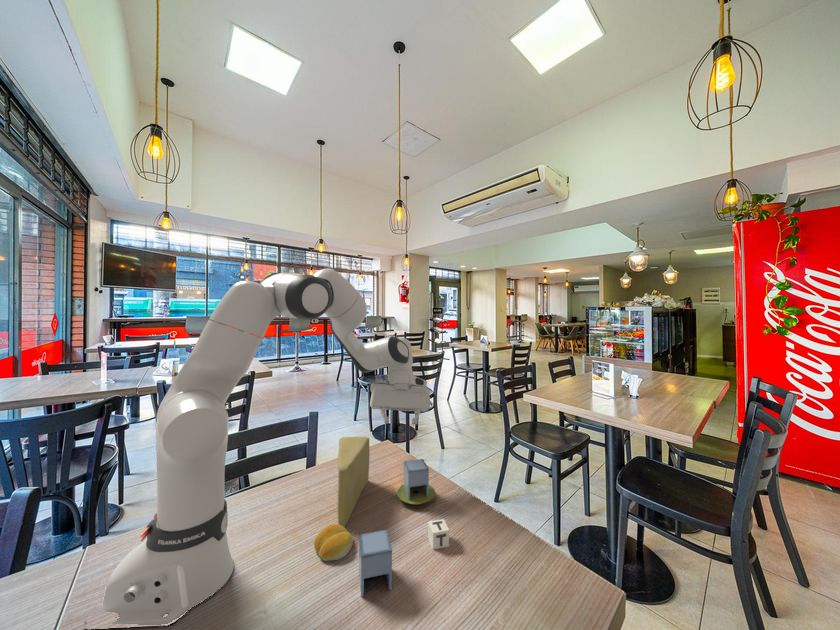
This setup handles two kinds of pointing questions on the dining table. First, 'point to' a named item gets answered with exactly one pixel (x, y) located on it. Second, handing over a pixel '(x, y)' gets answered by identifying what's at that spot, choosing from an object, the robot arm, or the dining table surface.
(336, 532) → the bread roll
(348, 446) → the cheese
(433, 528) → the letter cube
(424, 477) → the grey stool
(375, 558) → the gray notched block
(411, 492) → the mat
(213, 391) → the robot arm
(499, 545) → the dining table surface
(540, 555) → the dining table surface
